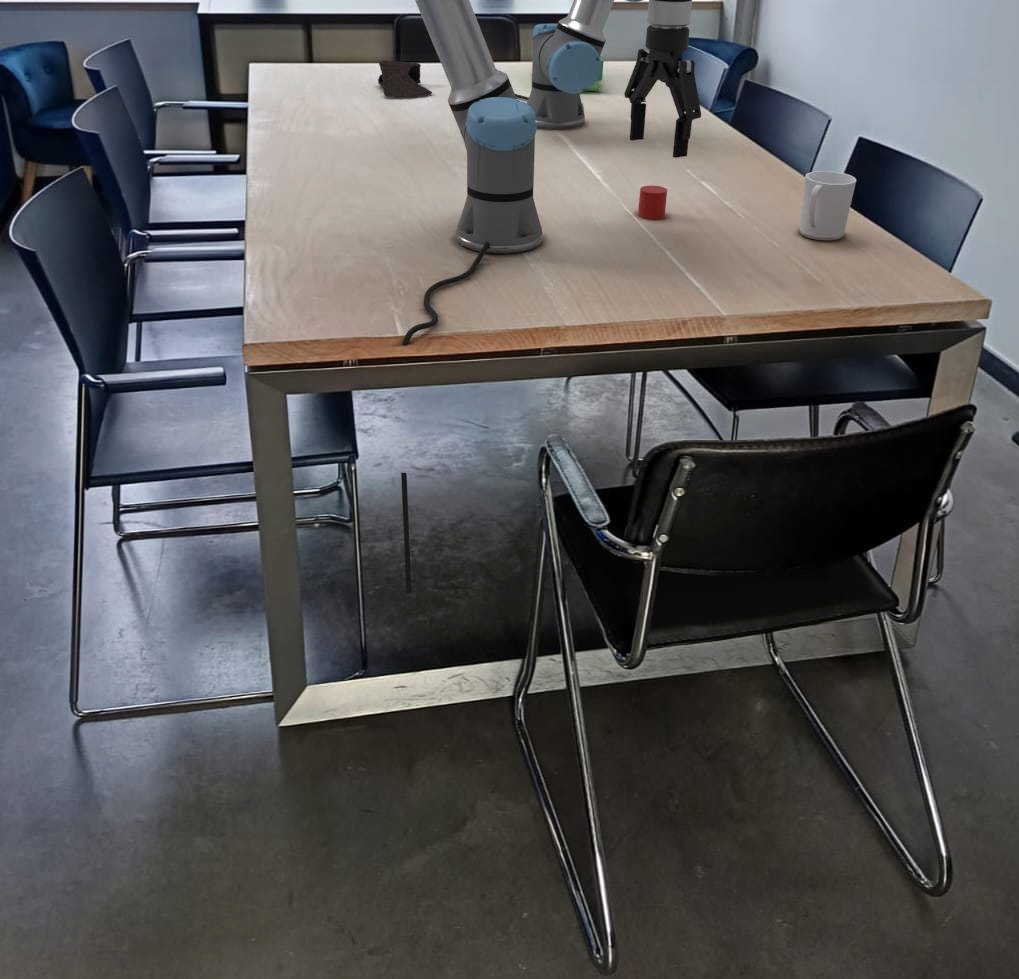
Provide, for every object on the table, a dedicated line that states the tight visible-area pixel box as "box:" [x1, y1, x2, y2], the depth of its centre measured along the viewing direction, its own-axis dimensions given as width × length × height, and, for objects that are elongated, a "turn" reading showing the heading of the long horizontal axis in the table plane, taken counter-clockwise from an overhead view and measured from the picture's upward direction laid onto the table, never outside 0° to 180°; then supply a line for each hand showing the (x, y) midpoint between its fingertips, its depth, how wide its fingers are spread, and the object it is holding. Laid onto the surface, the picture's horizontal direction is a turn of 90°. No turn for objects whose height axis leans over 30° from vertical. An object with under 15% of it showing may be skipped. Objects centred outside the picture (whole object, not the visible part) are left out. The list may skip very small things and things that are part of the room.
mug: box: [798, 170, 857, 241], centre depth 199 cm, size 11×9×10 cm
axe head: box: [377, 59, 433, 99], centre depth 299 cm, size 18×8×15 cm
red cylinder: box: [637, 185, 668, 220], centre depth 209 cm, size 5×5×5 cm
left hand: (657, 148), depth 204 cm, fingers open, 13 cm apart
